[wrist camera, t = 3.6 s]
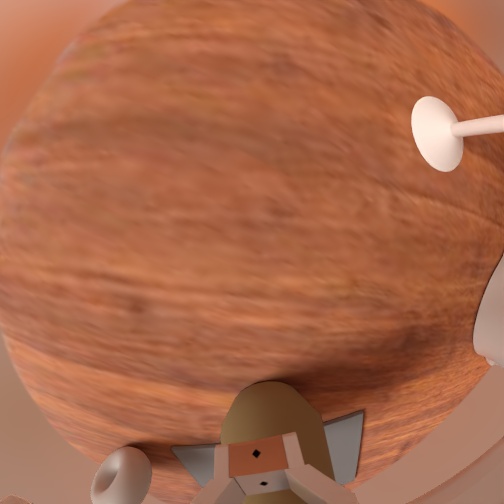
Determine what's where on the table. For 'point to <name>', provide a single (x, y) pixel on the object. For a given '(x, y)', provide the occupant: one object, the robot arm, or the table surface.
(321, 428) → the squeeze bottle
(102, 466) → the donut
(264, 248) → the table surface
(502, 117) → the champagne flute
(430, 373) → the table surface
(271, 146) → the table surface
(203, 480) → the mat
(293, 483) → the robot arm
